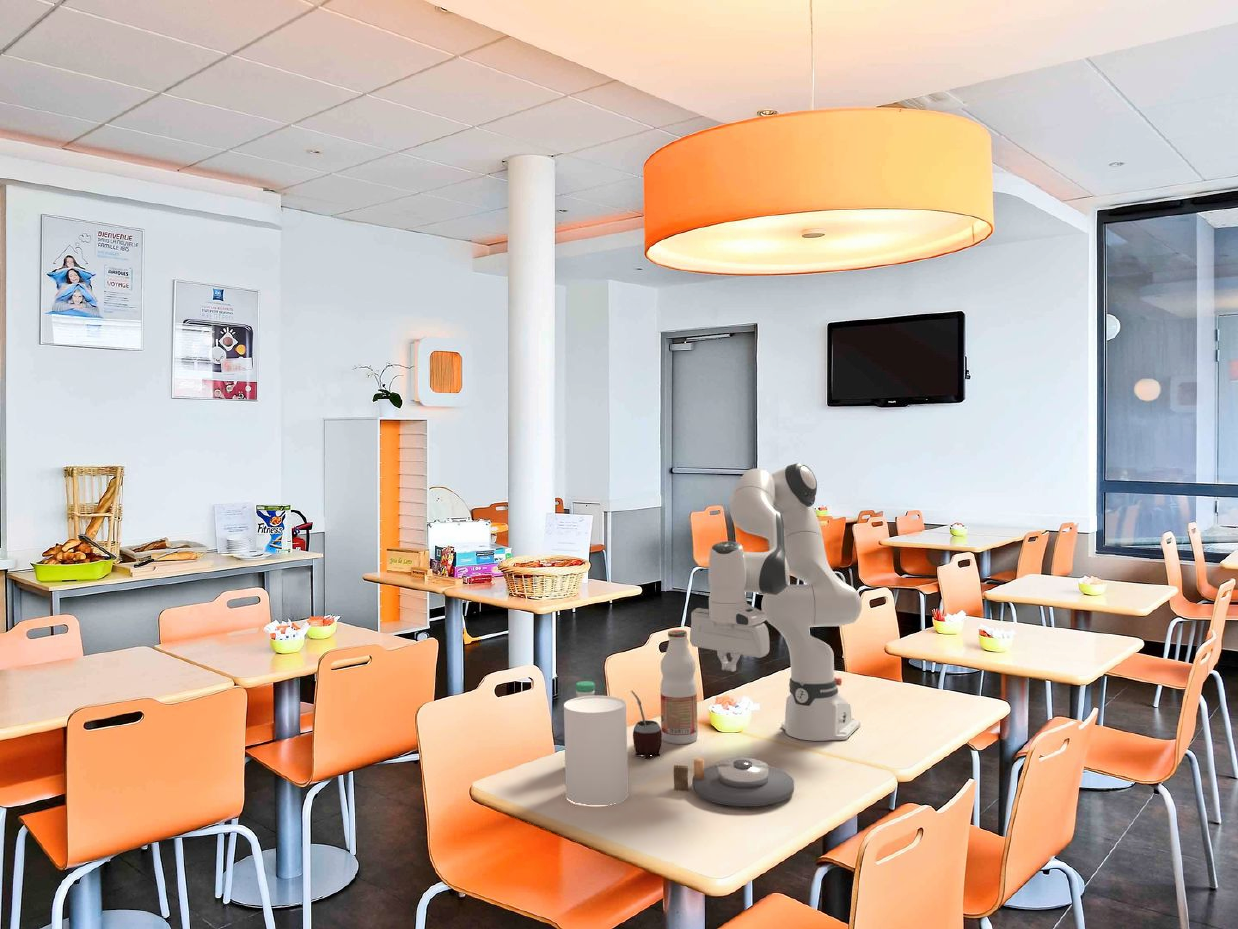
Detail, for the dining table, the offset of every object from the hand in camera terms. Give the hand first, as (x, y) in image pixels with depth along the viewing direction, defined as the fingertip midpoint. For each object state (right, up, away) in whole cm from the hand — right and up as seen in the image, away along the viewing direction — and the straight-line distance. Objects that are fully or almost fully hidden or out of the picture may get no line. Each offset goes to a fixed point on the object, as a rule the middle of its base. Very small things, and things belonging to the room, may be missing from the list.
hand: (729, 670), depth 218 cm
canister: (-31, -24, -16) cm, 42 cm away
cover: (+1, -21, -16) cm, 26 cm away
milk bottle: (-34, -24, +2) cm, 41 cm away
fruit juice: (-10, -23, +22) cm, 33 cm away
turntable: (+1, -23, -16) cm, 28 cm away
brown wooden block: (-12, -23, -14) cm, 30 cm away
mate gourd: (-19, -23, +10) cm, 32 cm away
